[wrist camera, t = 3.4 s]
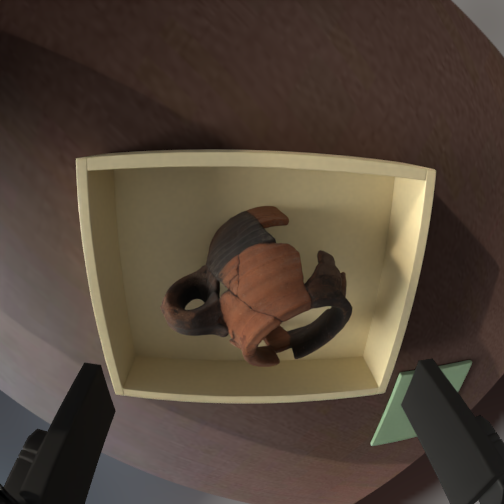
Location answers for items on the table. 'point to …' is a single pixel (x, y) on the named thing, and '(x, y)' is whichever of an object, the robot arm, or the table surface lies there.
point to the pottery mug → (259, 292)
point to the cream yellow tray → (195, 256)
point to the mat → (394, 417)
